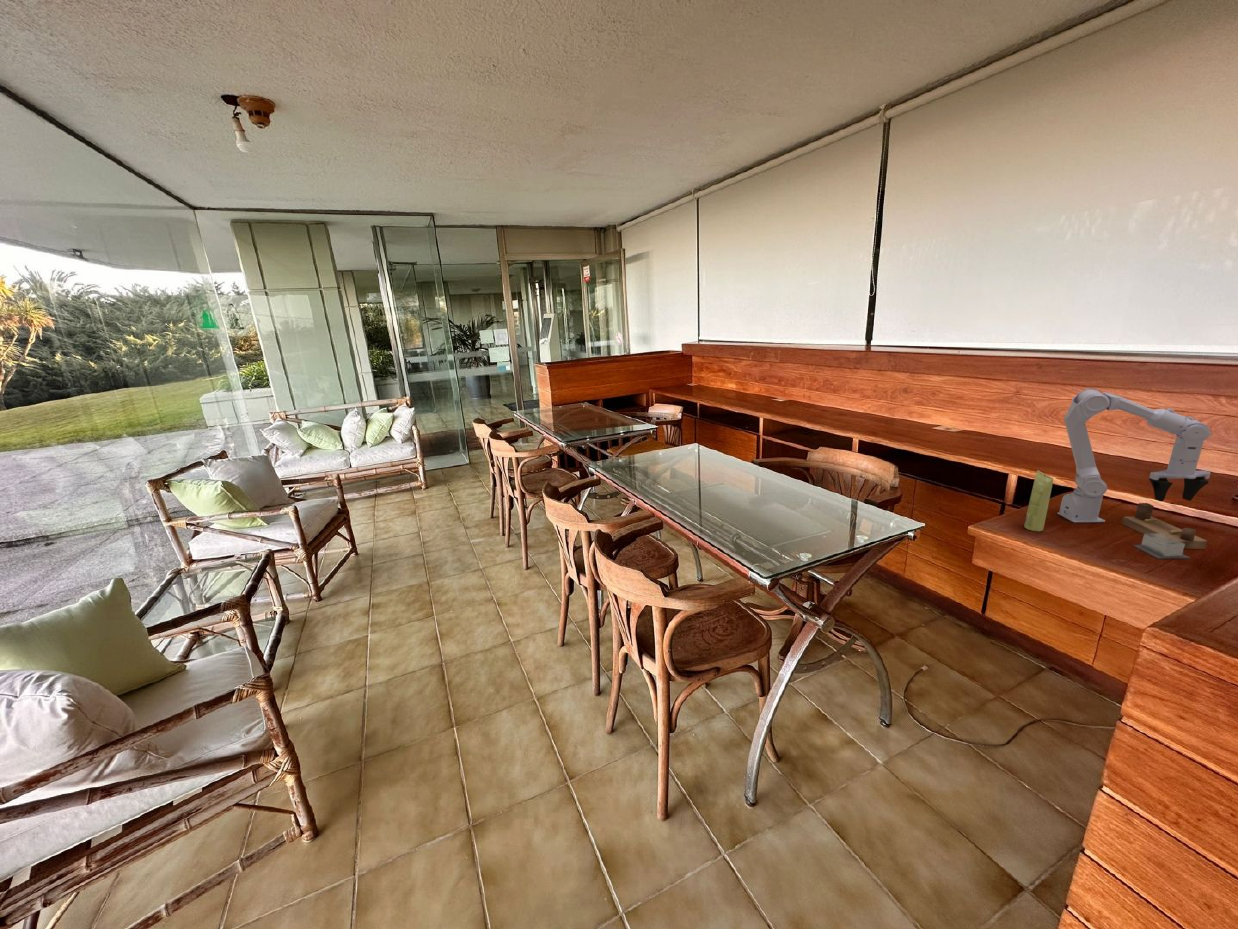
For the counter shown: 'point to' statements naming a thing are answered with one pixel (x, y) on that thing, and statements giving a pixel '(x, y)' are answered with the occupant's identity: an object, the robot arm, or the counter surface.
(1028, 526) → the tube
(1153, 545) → the lever cap
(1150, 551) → the rubber mat
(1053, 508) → the counter surface
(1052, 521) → the counter surface
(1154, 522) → the plane body
